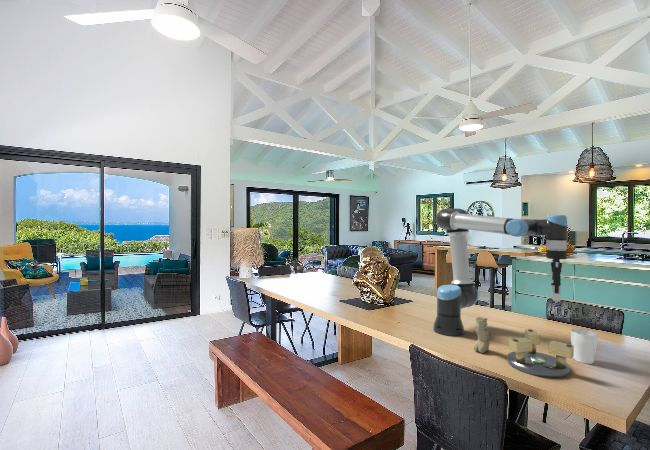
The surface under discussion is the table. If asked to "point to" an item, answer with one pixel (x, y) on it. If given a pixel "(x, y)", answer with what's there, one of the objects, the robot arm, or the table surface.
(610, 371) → the table surface
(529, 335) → the beige blocky piece
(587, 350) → the cup
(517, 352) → the knob left
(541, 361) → the plate
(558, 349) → the knob right
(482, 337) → the sculpture
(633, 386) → the table surface
